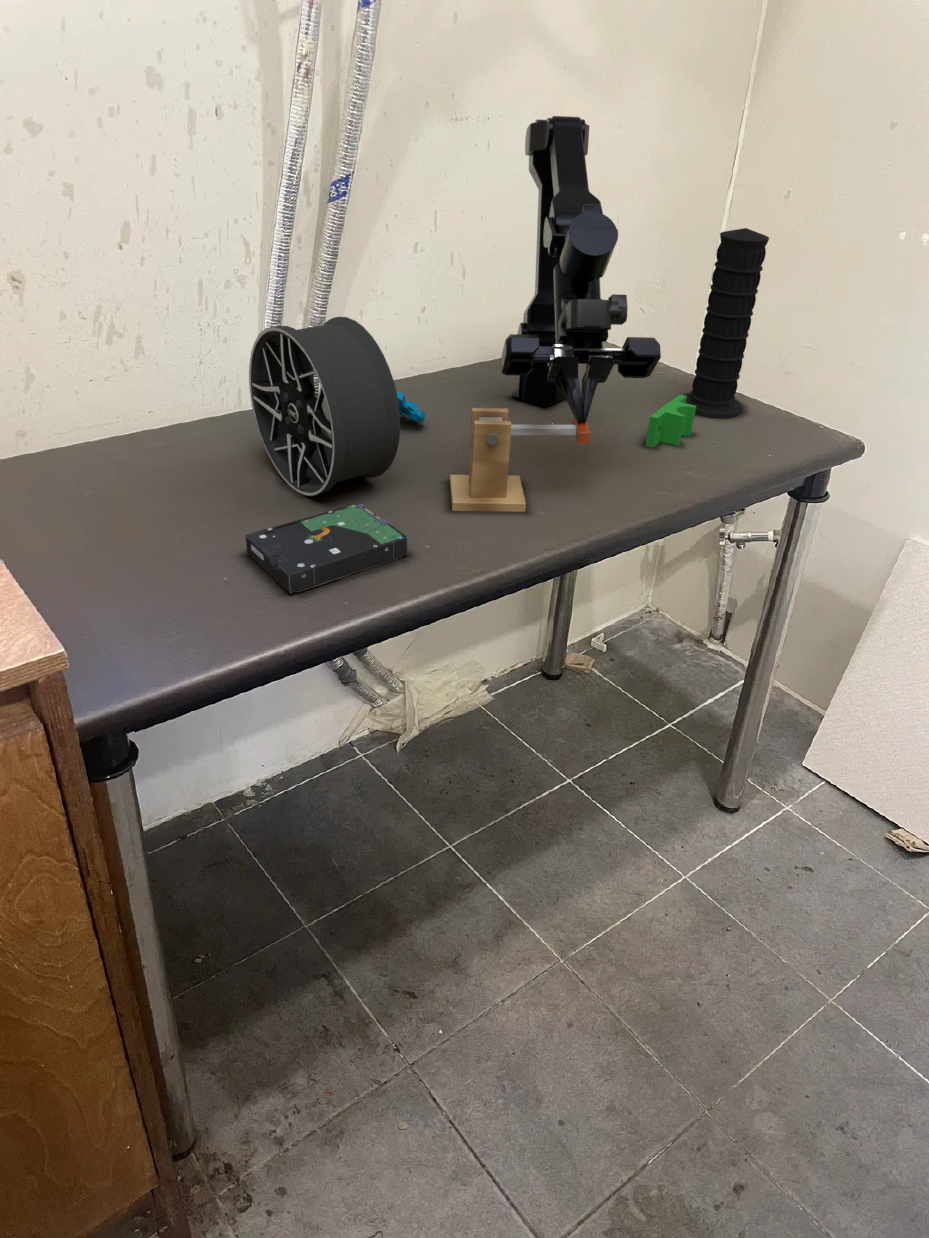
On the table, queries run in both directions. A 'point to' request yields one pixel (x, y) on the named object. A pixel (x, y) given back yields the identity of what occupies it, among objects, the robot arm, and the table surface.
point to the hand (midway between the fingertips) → (582, 422)
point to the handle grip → (727, 323)
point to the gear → (409, 409)
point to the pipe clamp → (671, 422)
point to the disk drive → (325, 547)
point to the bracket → (488, 468)
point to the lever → (550, 429)
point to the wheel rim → (351, 393)
